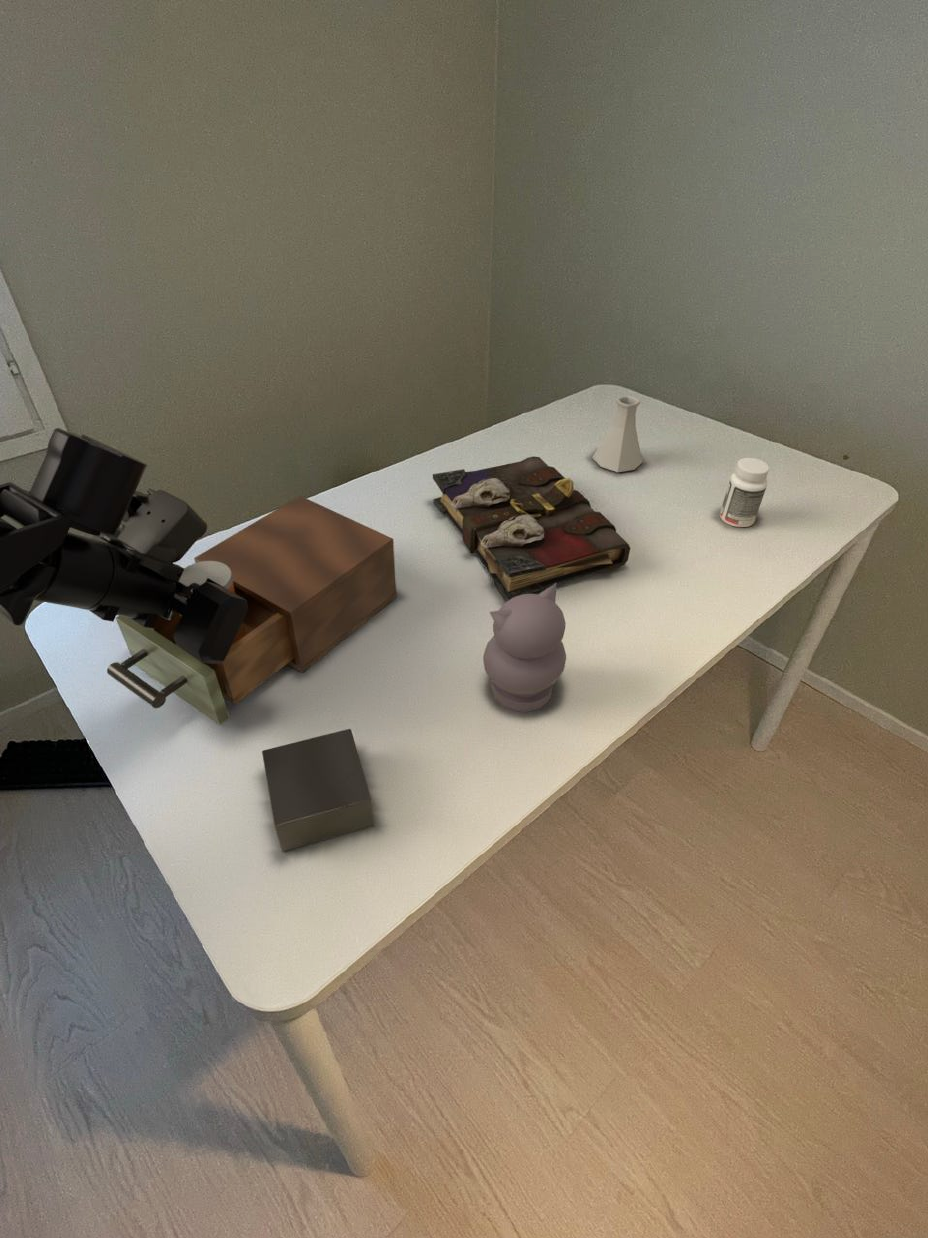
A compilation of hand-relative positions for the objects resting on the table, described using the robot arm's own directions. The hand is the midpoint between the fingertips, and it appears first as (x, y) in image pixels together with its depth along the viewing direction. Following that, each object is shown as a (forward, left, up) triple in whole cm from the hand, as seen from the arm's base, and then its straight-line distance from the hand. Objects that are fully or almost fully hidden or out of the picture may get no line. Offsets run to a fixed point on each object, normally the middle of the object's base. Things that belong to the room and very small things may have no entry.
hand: (224, 606), depth 71 cm
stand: (+2, -21, -7) cm, 23 cm away
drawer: (-2, -1, -6) cm, 7 cm away
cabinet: (+9, +5, -7) cm, 12 cm away
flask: (+62, +18, -7) cm, 65 cm away
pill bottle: (+68, -2, -7) cm, 69 cm away
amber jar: (-1, -1, -3) cm, 4 cm away
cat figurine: (+25, -17, -7) cm, 32 cm away
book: (+39, +7, -7) cm, 41 cm away
